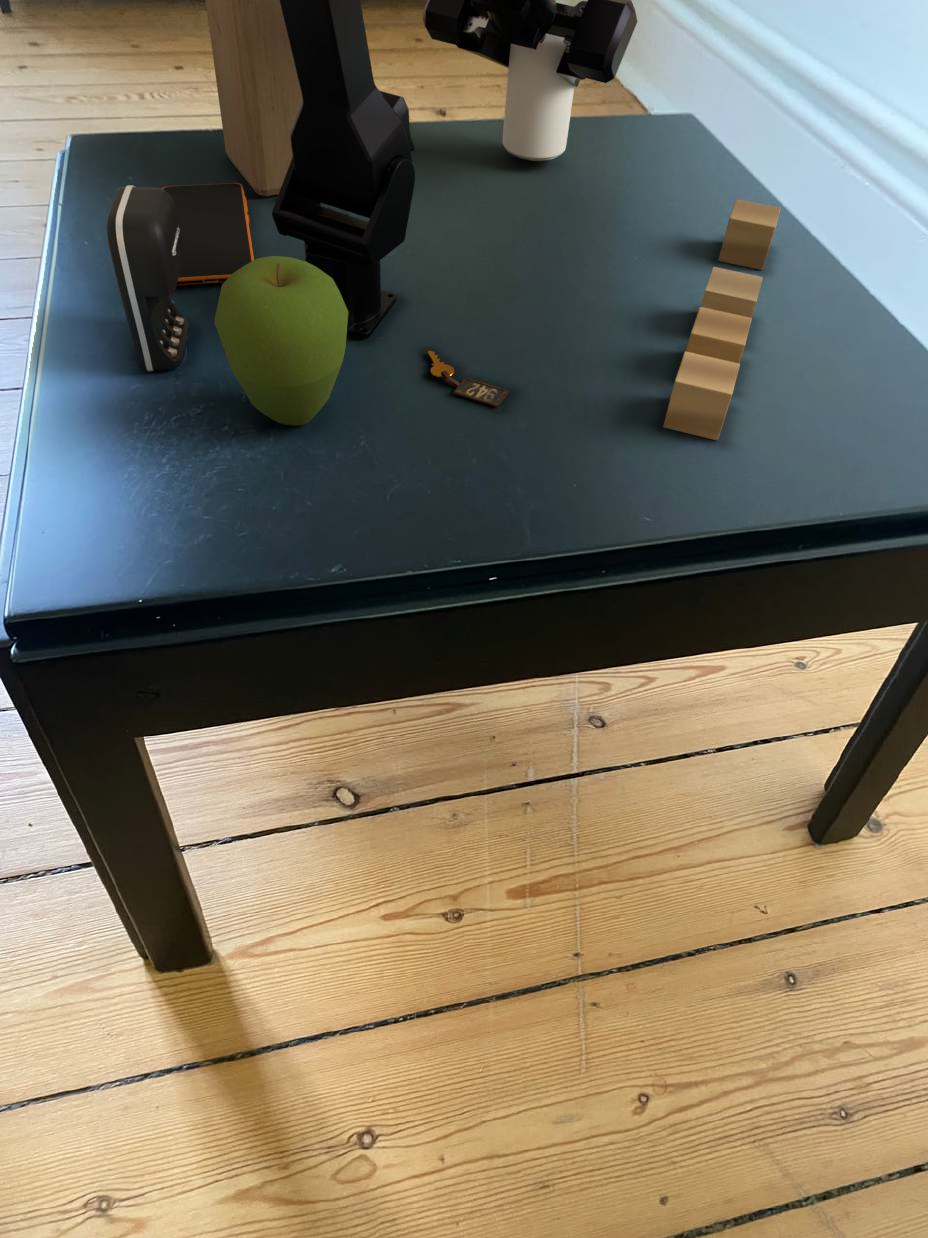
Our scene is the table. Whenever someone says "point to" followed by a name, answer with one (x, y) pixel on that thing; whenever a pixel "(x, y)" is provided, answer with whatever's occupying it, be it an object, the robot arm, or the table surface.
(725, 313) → the block
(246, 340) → the apple
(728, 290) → the block
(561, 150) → the can
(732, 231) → the block
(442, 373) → the key tag
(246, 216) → the smartphone
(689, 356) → the block
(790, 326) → the table surface
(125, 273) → the battery charger
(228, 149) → the wooden block
